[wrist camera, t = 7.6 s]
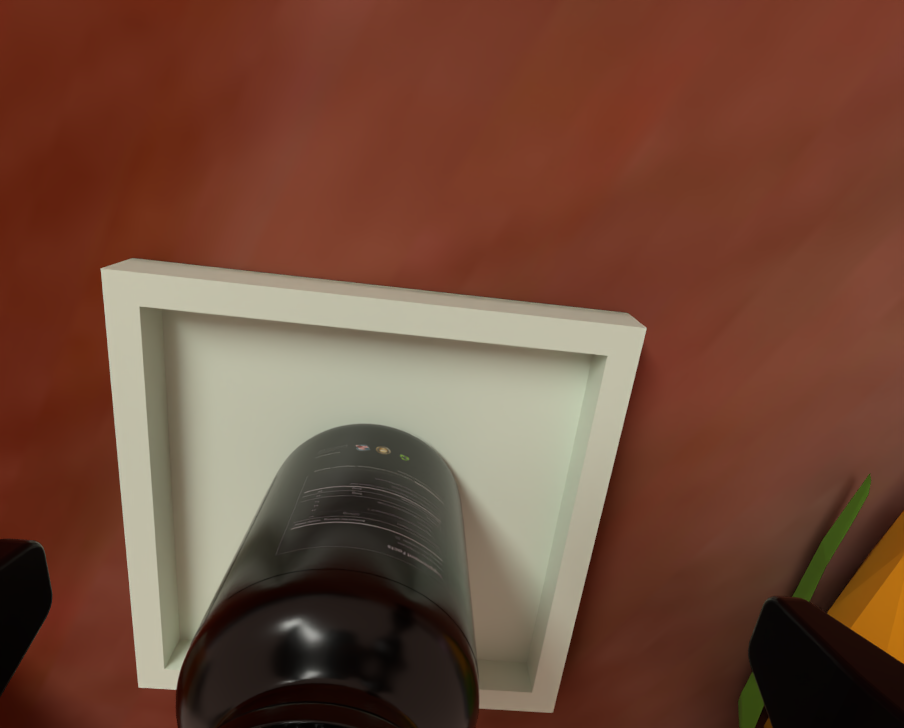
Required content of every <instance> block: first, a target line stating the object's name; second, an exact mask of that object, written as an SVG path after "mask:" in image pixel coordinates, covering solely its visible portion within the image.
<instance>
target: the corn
mask: <svg viewBox="0 0 904 728" xmlns="http://www.w3.org/2000/svg"><path fill="white" fill-rule="evenodd" d="M870 474H871V473H870ZM870 474H869V475H868V477H867V478H866V480H865V481H864V482H863V484H862V485H861V487H860V488H859V489H858V491H857V492H856V494H855V495H854V496H853V498H852V499H851V501H850V502H849V503H848V505H847V506H846V508H845V509H844V510H843V512H842V513H841V515H840V516H839V517H838V519H837V520H836V522H835V523H834V524H833V526H832V527H831V529H830V530H829V531H828V533H827V534H826V536H825V537H824V538H823V540H822V542H821V544H820V545H819V547H818V549H817V551H816V553H815V555H814V557H813V559H812V561H811V562H810V564H809V566H808V568H807V570H806V572H805V574H804V576H803V577H802V579H801V581H800V583H799V585H798V587H797V589H796V591H795V593H794V594H793V596H792V597H797V598H802V599H805V600H807V601H810V599H811V597H812V595H813V593H814V591H815V589H816V587H817V585H818V583H819V580H820V578H821V576H822V574H823V572H824V570H825V568H826V566H827V564H828V563H829V561H830V559H831V558H832V556H833V554H834V553H835V551H836V549H837V548H838V546H839V544H840V543H841V541H842V539H843V538H844V536H845V534H846V533H847V531H848V529H849V528H850V526H851V524H852V523H853V521H854V519H855V518H856V516H857V514H858V512H859V510H860V509H861V507H862V505H863V503H864V501H865V500H866V498H867V496H868V494H869V489H870V484H871V477H870ZM827 614H829V615H830V616H832V617H833V618H835V619H836V620H838V621H839V622H841V623H842V624H844V625H845V626H847V627H848V628H850V629H851V630H853V631H854V632H856V633H857V634H859V635H861V636H862V637H864V638H865V639H867V640H868V641H870V642H871V643H873V644H874V645H876V646H877V647H879V648H880V649H882V650H883V651H885V652H886V653H888V654H889V655H891V656H892V657H894V658H896V659H897V660H899V661H900V662H902V663H903V664H904V511H903V512H902V513H901V514H900V516H899V517H898V518H897V519H896V521H895V522H894V523H893V524H892V526H891V527H890V528H889V529H888V531H887V532H886V533H885V534H884V536H883V537H882V538H881V539H880V541H879V542H878V543H877V544H876V546H875V547H874V548H873V550H872V551H871V552H870V553H869V555H868V556H867V557H866V559H865V560H864V562H863V563H862V564H861V566H860V567H859V569H858V570H857V571H856V573H855V574H854V576H853V577H852V578H851V580H850V581H849V583H848V584H847V585H846V587H845V588H844V590H843V591H842V592H841V594H840V595H839V597H838V598H837V599H836V601H835V602H834V604H833V605H832V606H831V608H830V609H829V611H828V612H827ZM763 707H764V702H763V700H762V697H761V694H760V691H759V688H758V686H757V683H756V680H755V677H754V674H753V672H752V673H751V675H750V677H749V679H748V681H747V683H746V685H745V687H744V689H743V690H742V693H741V695H740V698H739V700H738V710H739V728H755V726H756V724H757V721H758V719H759V716H760V714H761V712H762V709H763ZM763 728H772V725H771V722H770V719H769V718H768V719H767V721H766V723H765V725H764V727H763Z"/></svg>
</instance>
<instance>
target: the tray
mask: <svg viewBox="0 0 904 728" xmlns="http://www.w3.org/2000/svg"><path fill="white" fill-rule="evenodd" d="M101 276H102V287H103V298H104V310H105V321H106V332H107V343H108V354H109V365H110V376H111V387H112V398H113V409H114V421H115V432H116V443H117V454H118V465H119V476H120V487H121V498H122V509H123V520H124V532H125V543H126V554H127V565H128V576H129V587H130V598H131V609H132V620H133V631H134V643H135V654H136V665H137V676H138V687H141V688H157V689H173V690H176V689H177V682H178V677H179V673H180V669H181V666H182V664H183V661H184V659H185V656H186V654H187V652H188V649H189V647H190V644H191V642H192V640H193V638H194V636H195V634H196V632H197V630H198V628H199V626H200V624H201V622H202V620H203V618H204V616H205V614H206V612H207V610H208V608H209V606H210V604H211V602H212V600H213V598H214V596H215V594H216V592H217V590H218V588H219V586H220V584H221V582H222V580H223V578H224V576H225V574H226V572H227V570H228V568H229V566H230V564H231V562H232V560H233V558H234V556H235V554H236V552H237V550H238V548H239V546H240V544H241V542H242V540H243V538H244V536H245V534H246V532H247V530H248V528H249V526H250V524H251V522H252V520H253V518H254V516H255V514H256V512H257V510H258V508H259V506H260V504H261V502H262V500H263V498H264V496H265V494H266V492H267V490H268V488H269V487H270V485H271V483H272V481H273V479H274V477H275V475H276V474H277V472H278V470H279V468H280V467H281V466H282V464H283V463H284V461H285V460H286V459H287V457H288V456H289V455H290V454H291V453H292V452H293V451H294V450H295V449H296V448H297V447H298V446H300V445H301V444H302V443H304V442H305V441H307V440H308V439H310V438H312V437H313V436H315V435H317V434H319V433H321V432H323V431H326V430H329V429H332V428H335V427H339V426H343V425H350V424H378V425H384V426H389V427H393V428H396V429H399V430H402V431H404V432H407V433H409V434H411V435H413V436H415V437H417V438H419V439H420V440H422V441H423V442H425V443H426V444H427V445H429V446H430V447H431V448H432V449H433V450H434V451H435V452H436V453H438V454H439V456H440V457H441V458H442V459H443V460H444V462H445V463H446V464H447V466H448V467H449V469H450V471H451V472H452V474H453V476H454V478H455V481H456V483H457V486H458V490H459V493H460V498H461V504H462V512H463V519H464V529H465V539H466V550H467V560H468V570H469V580H470V590H471V601H472V611H473V621H474V631H475V641H476V652H477V662H478V673H479V701H480V702H479V708H481V709H497V710H513V711H529V712H545V713H553V710H554V706H555V702H556V698H557V694H558V690H559V686H560V682H561V678H562V673H563V669H564V665H565V661H566V657H567V653H568V649H569V645H570V641H571V637H572V632H573V628H574V624H575V620H576V616H577V612H578V608H579V604H580V600H581V596H582V591H583V587H584V583H585V579H586V575H587V571H588V567H589V563H590V559H591V555H592V551H593V546H594V542H595V538H596V534H597V530H598V526H599V522H600V518H601V514H602V510H603V505H604V501H605V497H606V493H607V489H608V485H609V481H610V477H611V473H612V469H613V464H614V460H615V456H616V452H617V448H618V444H619V440H620V436H621V432H622V428H623V423H624V419H625V415H626V411H627V407H628V403H629V399H630V395H631V391H632V387H633V382H634V378H635V374H636V370H637V366H638V362H639V358H640V354H641V350H642V346H643V341H644V337H645V333H646V329H647V328H646V327H645V326H643V325H642V324H641V323H640V322H638V321H637V320H636V319H635V318H633V317H632V316H631V315H630V314H628V313H623V312H614V311H605V310H596V309H587V308H578V307H569V306H560V305H551V304H542V303H533V302H524V301H515V300H506V299H497V298H488V297H479V296H470V295H461V294H452V293H443V292H434V291H425V290H416V289H407V288H398V287H389V286H380V285H371V284H362V283H353V282H344V281H335V280H326V279H317V278H308V277H299V276H290V275H281V274H272V273H262V272H253V271H244V270H235V269H226V268H217V267H208V266H199V265H190V264H181V263H172V262H163V261H154V260H145V259H136V258H131V259H128V260H125V261H122V262H119V263H116V264H113V265H110V266H107V267H104V268H101Z"/></svg>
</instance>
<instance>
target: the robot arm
mask: <svg viewBox="0 0 904 728" xmlns="http://www.w3.org/2000/svg"><path fill="white" fill-rule="evenodd" d="M51 603H52V588H51V583H50V578H49V572H48V567H47V562H46V556H45V551H44V548H43V547H42V545H41V544H40V543H39V542H36V541H33V540H21V539H0V697H1V695H2V693H3V692H4V690H5V688H6V686H7V685H8V683H9V681H10V679H11V678H12V676H13V674H14V673H15V671H16V669H17V667H18V666H19V664H20V662H21V660H22V659H23V657H24V655H25V654H26V652H27V650H28V648H29V647H30V645H31V643H32V641H33V640H34V638H35V636H36V634H37V633H38V631H39V629H40V628H41V626H42V624H43V622H44V621H45V619H46V617H47V615H48V613H49V610H50V608H51ZM748 656H749V662H750V666H751V669H752V672H753V674H754V677H755V680H756V683H757V686H758V688H759V691H760V694H761V697H762V700H763V702H764V705H765V708H766V711H767V714H768V716H769V719H770V722H771V725H772V728H904V664H903V663H902V662H900V661H899V660H897V659H896V658H894V657H892V656H891V655H889V654H888V653H886V652H885V651H883V650H882V649H880V648H879V647H877V646H876V645H874V644H873V643H871V642H870V641H868V640H867V639H865V638H864V637H862V636H861V635H859V634H857V633H856V632H854V631H853V630H851V629H850V628H848V627H847V626H845V625H844V624H842V623H841V622H839V621H838V620H836V619H835V618H833V617H832V616H830V615H829V614H827V613H826V612H824V611H822V610H821V609H819V608H818V607H816V606H815V605H813V604H812V603H810V602H809V601H807V600H805V599H802V598H797V597H783V596H772V597H769V598H768V599H767V600H766V601H765V602H764V604H763V607H762V609H761V612H760V615H759V617H758V620H757V623H756V626H755V628H754V631H753V634H752V636H751V639H750V642H749V648H748Z"/></svg>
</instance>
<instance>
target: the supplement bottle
mask: <svg viewBox="0 0 904 728" xmlns="http://www.w3.org/2000/svg"><path fill="white" fill-rule="evenodd" d="M479 702H480V701H479V673H478V662H477V652H476V641H475V631H474V621H473V611H472V601H471V590H470V580H469V570H468V560H467V550H466V539H465V529H464V519H463V512H462V504H461V498H460V493H459V490H458V486H457V483H456V481H455V478H454V476H453V474H452V472H451V471H450V469H449V467H448V466H447V464H446V463H445V462H444V460H443V459H442V458H441V457H440V456H439V454H438V453H436V452H435V451H434V450H433V449H432V448H431V447H430V446H429V445H427V444H426V443H425V442H423V441H422V440H420V439H419V438H417V437H415V436H413V435H411V434H409V433H407V432H404V431H402V430H399V429H396V428H393V427H389V426H384V425H378V424H350V425H343V426H339V427H335V428H332V429H329V430H326V431H323V432H321V433H319V434H317V435H315V436H313V437H312V438H310V439H308V440H307V441H305V442H304V443H302V444H301V445H300V446H298V447H297V448H296V449H295V450H294V451H293V452H292V453H291V454H290V455H289V456H288V457H287V459H286V460H285V461H284V463H283V464H282V466H281V467H280V468H279V470H278V472H277V474H276V475H275V477H274V479H273V481H272V483H271V485H270V487H269V488H268V490H267V492H266V494H265V496H264V498H263V500H262V502H261V504H260V506H259V508H258V510H257V512H256V514H255V516H254V518H253V520H252V522H251V524H250V526H249V528H248V530H247V532H246V534H245V536H244V538H243V540H242V542H241V544H240V546H239V548H238V550H237V552H236V554H235V556H234V558H233V560H232V562H231V564H230V566H229V568H228V570H227V572H226V574H225V576H224V578H223V580H222V582H221V584H220V586H219V588H218V590H217V592H216V594H215V596H214V598H213V600H212V602H211V604H210V606H209V608H208V610H207V612H206V614H205V616H204V618H203V620H202V622H201V624H200V626H199V628H198V630H197V632H196V634H195V636H194V638H193V640H192V642H191V644H190V647H189V649H188V652H187V654H186V656H185V659H184V661H183V664H182V666H181V669H180V673H179V677H178V682H177V689H176V718H177V725H178V728H476V723H477V719H478V713H479Z"/></svg>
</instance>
